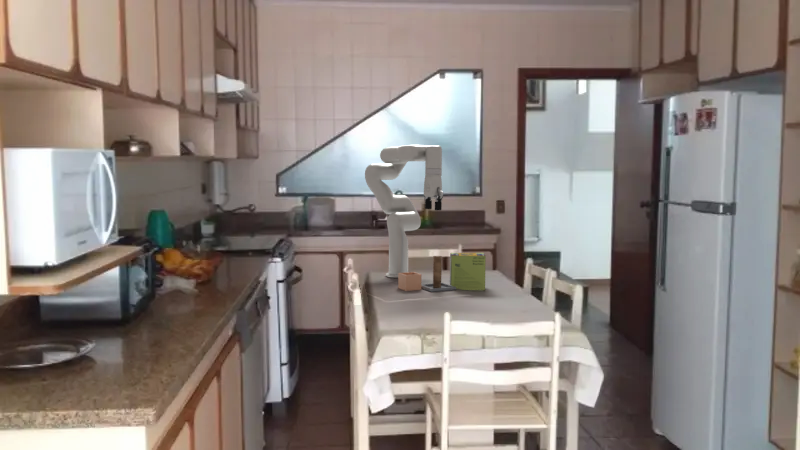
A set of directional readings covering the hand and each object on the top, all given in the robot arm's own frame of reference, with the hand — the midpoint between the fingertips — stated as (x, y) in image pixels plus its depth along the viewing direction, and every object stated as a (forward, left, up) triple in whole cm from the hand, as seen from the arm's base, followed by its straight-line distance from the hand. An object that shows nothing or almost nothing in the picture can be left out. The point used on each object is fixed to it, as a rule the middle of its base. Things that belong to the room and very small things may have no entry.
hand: (433, 209), depth 336 cm
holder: (+13, -18, -34) cm, 41 cm away
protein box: (+18, +8, -35) cm, 40 cm away
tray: (+18, -7, -34) cm, 39 cm away
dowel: (+18, -7, -33) cm, 38 cm away
